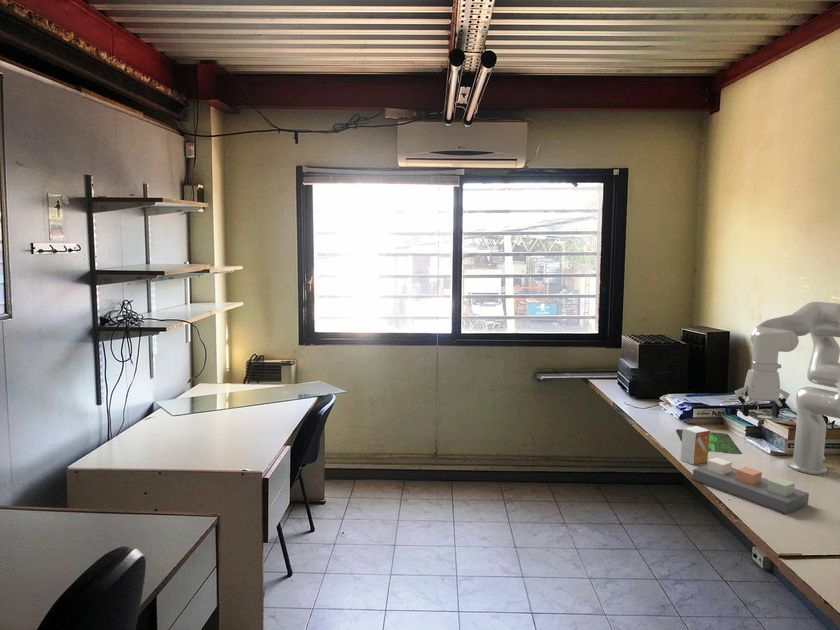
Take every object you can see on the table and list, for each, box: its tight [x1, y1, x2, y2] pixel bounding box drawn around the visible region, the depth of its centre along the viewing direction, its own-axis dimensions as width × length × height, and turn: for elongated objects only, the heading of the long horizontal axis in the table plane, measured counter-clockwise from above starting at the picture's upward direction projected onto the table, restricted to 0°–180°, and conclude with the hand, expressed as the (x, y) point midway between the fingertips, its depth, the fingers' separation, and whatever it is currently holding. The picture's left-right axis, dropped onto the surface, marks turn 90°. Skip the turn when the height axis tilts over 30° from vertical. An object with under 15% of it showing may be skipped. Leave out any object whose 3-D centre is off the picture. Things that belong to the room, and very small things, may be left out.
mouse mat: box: [675, 428, 743, 455], centre depth 256 cm, size 27×22×1 cm
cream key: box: [707, 456, 733, 475], centre depth 212 cm, size 6×6×5 cm
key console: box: [692, 464, 810, 515], centre depth 203 cm, size 14×32×4 cm, turn 33°
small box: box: [679, 425, 711, 466], centre depth 231 cm, size 8×6×13 cm
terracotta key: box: [736, 466, 763, 486], centre depth 203 cm, size 6×6×5 cm
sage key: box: [767, 476, 795, 497], centre depth 194 cm, size 6×6×5 cm
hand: (760, 416), depth 202 cm, fingers open, 9 cm apart
